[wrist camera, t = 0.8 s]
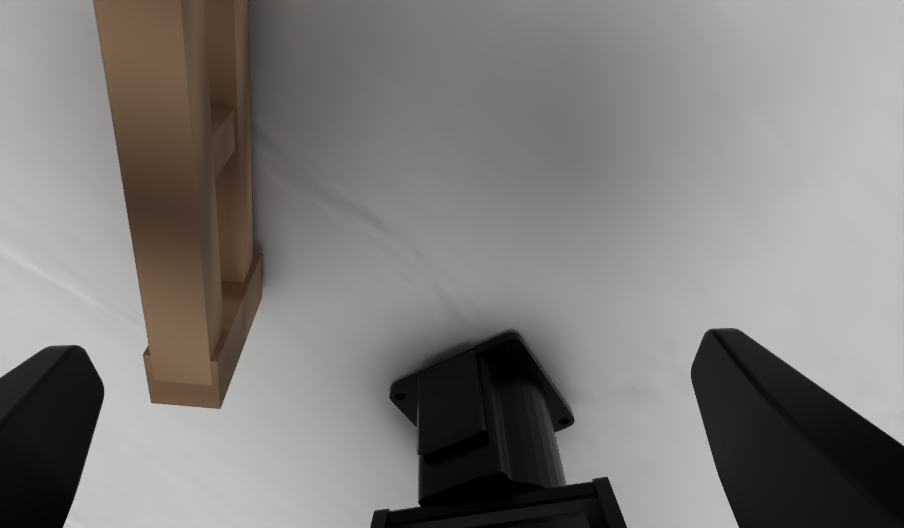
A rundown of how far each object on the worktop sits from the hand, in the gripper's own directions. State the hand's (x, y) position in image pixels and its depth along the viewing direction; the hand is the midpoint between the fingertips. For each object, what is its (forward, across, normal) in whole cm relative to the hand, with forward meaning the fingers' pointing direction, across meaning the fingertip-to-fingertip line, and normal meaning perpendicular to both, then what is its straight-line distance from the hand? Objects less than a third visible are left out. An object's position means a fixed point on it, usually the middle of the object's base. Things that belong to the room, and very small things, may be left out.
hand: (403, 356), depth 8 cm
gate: (+11, +6, +1) cm, 13 cm away
